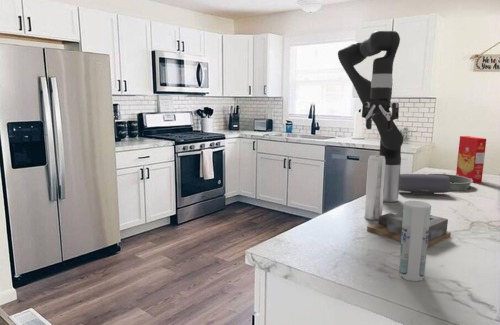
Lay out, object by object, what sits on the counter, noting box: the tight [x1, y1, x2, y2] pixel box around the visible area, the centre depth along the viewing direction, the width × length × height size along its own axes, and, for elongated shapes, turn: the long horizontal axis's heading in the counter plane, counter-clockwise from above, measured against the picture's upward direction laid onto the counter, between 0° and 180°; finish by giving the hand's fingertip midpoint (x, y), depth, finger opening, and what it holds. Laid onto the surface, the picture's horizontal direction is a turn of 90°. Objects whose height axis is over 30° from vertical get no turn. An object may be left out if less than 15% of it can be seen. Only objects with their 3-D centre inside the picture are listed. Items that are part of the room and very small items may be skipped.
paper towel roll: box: [364, 154, 386, 221], centre depth 145 cm, size 6×6×25 cm
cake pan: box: [430, 173, 473, 191], centre depth 202 cm, size 25×25×4 cm
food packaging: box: [455, 135, 487, 184], centre depth 215 cm, size 15×5×25 cm, turn 6°
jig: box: [366, 211, 452, 248], centre depth 130 cm, size 21×18×6 cm
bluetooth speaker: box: [399, 173, 451, 196], centre depth 184 cm, size 23×9×10 cm, turn 80°
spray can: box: [398, 200, 432, 282], centre depth 98 cm, size 6×6×20 cm
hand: (378, 129), depth 141 cm, fingers open, 8 cm apart
